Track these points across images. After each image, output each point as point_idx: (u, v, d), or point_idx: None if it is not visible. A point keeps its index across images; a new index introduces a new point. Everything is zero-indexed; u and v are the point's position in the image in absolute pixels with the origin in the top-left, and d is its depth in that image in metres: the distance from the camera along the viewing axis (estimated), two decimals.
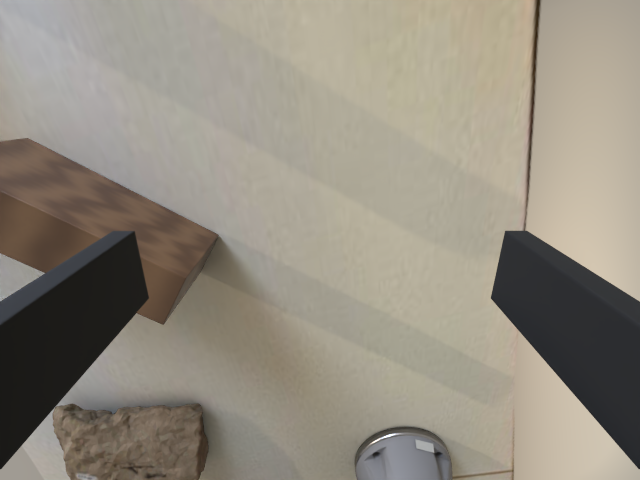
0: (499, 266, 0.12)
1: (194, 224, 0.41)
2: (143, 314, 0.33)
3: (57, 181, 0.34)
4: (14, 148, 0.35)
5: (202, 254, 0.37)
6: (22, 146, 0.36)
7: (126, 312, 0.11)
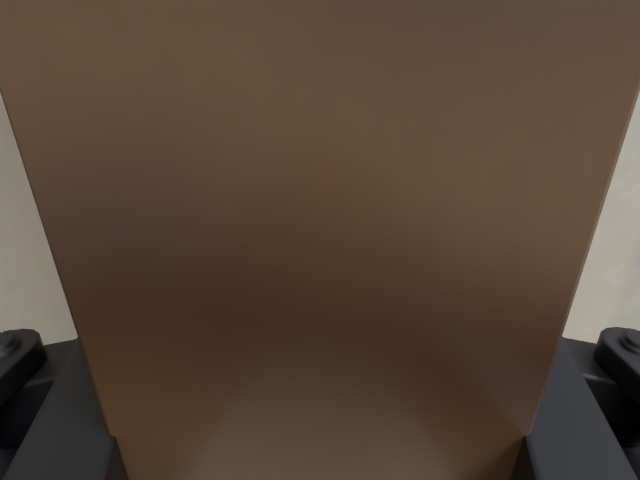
0: None
1: None
2: None
3: None
4: None
5: None
6: None
7: None
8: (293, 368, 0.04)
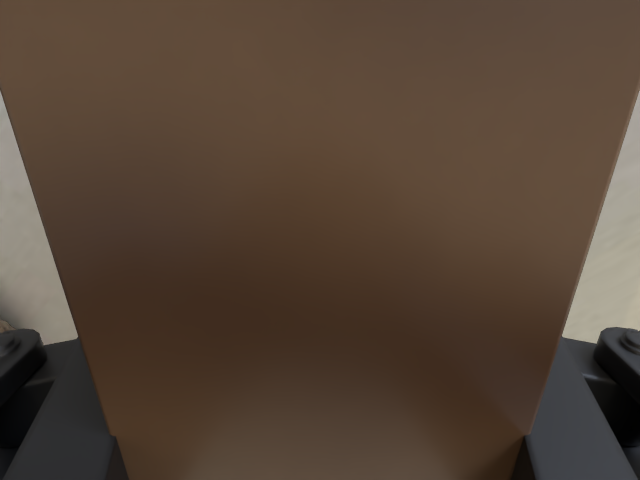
0: None
1: None
2: None
3: None
4: None
5: None
6: None
7: None
8: (294, 367, 0.04)
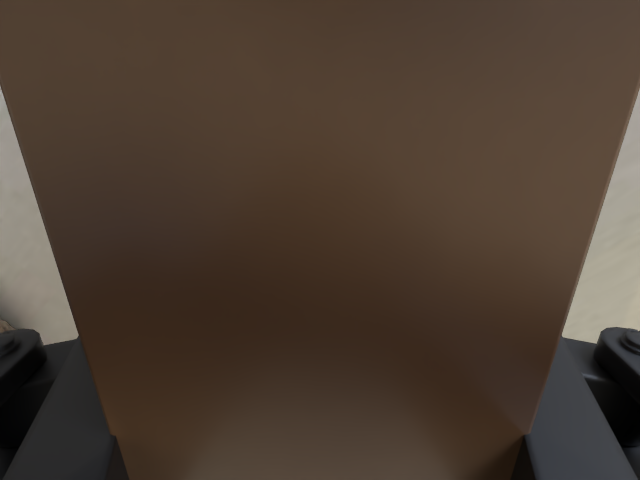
0: None
1: None
2: None
3: None
4: None
5: None
6: None
7: None
8: (293, 367, 0.04)
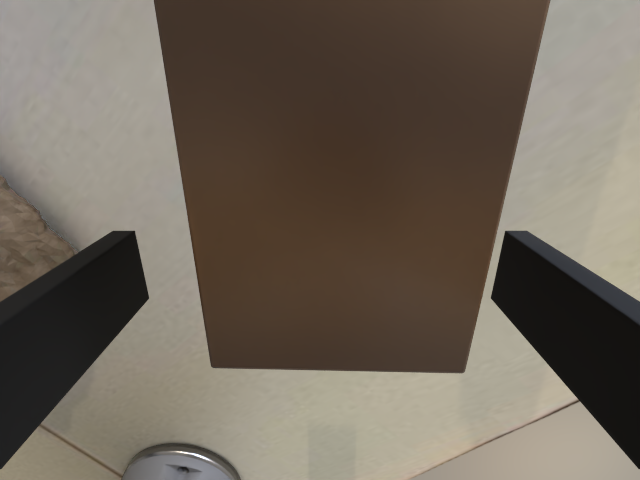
0: (499, 266, 0.12)
1: None
2: (208, 293, 0.07)
3: None
4: None
5: None
6: None
7: (126, 312, 0.11)
8: (326, 109, 0.06)
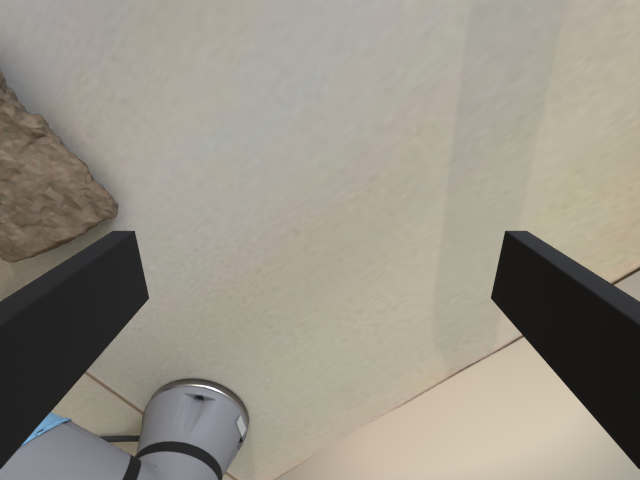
0: (499, 266, 0.12)
1: None
2: None
3: None
4: None
5: None
6: None
7: (126, 312, 0.11)
8: None
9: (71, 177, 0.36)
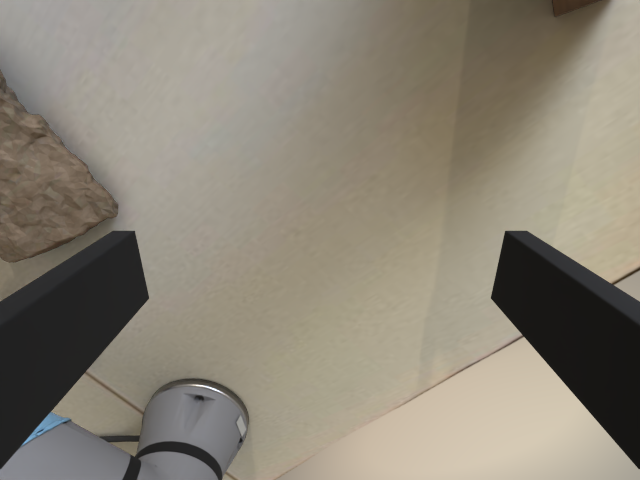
0: (499, 266, 0.12)
1: None
2: None
3: None
4: None
5: None
6: None
7: (126, 312, 0.11)
8: None
9: (71, 177, 0.36)
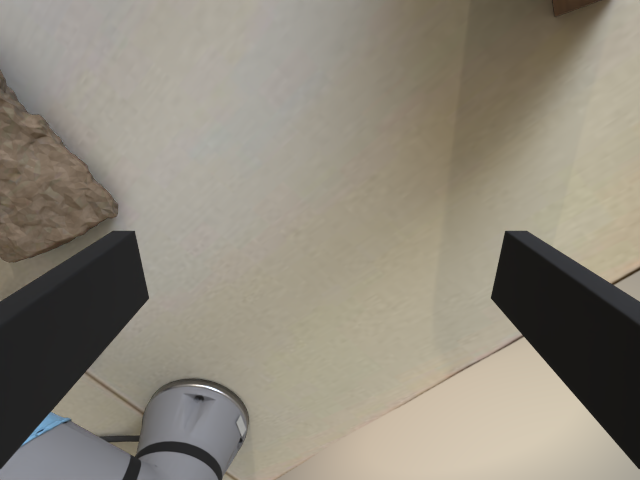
0: (499, 266, 0.12)
1: None
2: None
3: None
4: None
5: None
6: None
7: (126, 312, 0.11)
8: None
9: (71, 177, 0.36)
